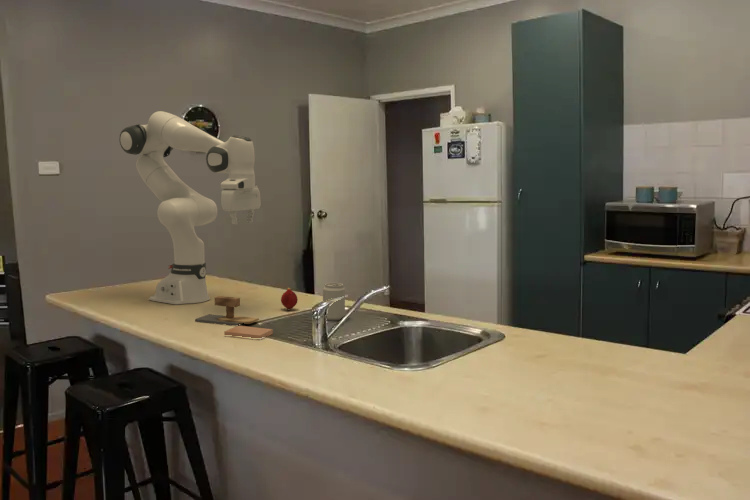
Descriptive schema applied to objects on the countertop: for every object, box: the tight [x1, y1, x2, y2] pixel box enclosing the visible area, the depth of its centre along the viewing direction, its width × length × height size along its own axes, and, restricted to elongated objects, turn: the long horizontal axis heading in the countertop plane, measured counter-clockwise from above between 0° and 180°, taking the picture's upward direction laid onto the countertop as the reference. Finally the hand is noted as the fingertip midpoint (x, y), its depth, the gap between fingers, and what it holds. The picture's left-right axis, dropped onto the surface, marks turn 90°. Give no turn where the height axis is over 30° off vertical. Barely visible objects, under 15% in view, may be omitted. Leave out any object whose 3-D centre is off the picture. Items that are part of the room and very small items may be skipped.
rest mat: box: [194, 313, 243, 326], centre depth 213 cm, size 16×8×1 cm, turn 70°
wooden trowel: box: [214, 295, 260, 325], centre depth 211 cm, size 14×6×7 cm, turn 70°
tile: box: [223, 325, 274, 338], centre depth 196 cm, size 2×8×12 cm
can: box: [322, 282, 346, 322], centre depth 218 cm, size 8×8×12 cm
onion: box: [280, 287, 298, 310], centre depth 231 cm, size 6×6×8 cm
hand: (242, 223), depth 225 cm, fingers open, 8 cm apart
